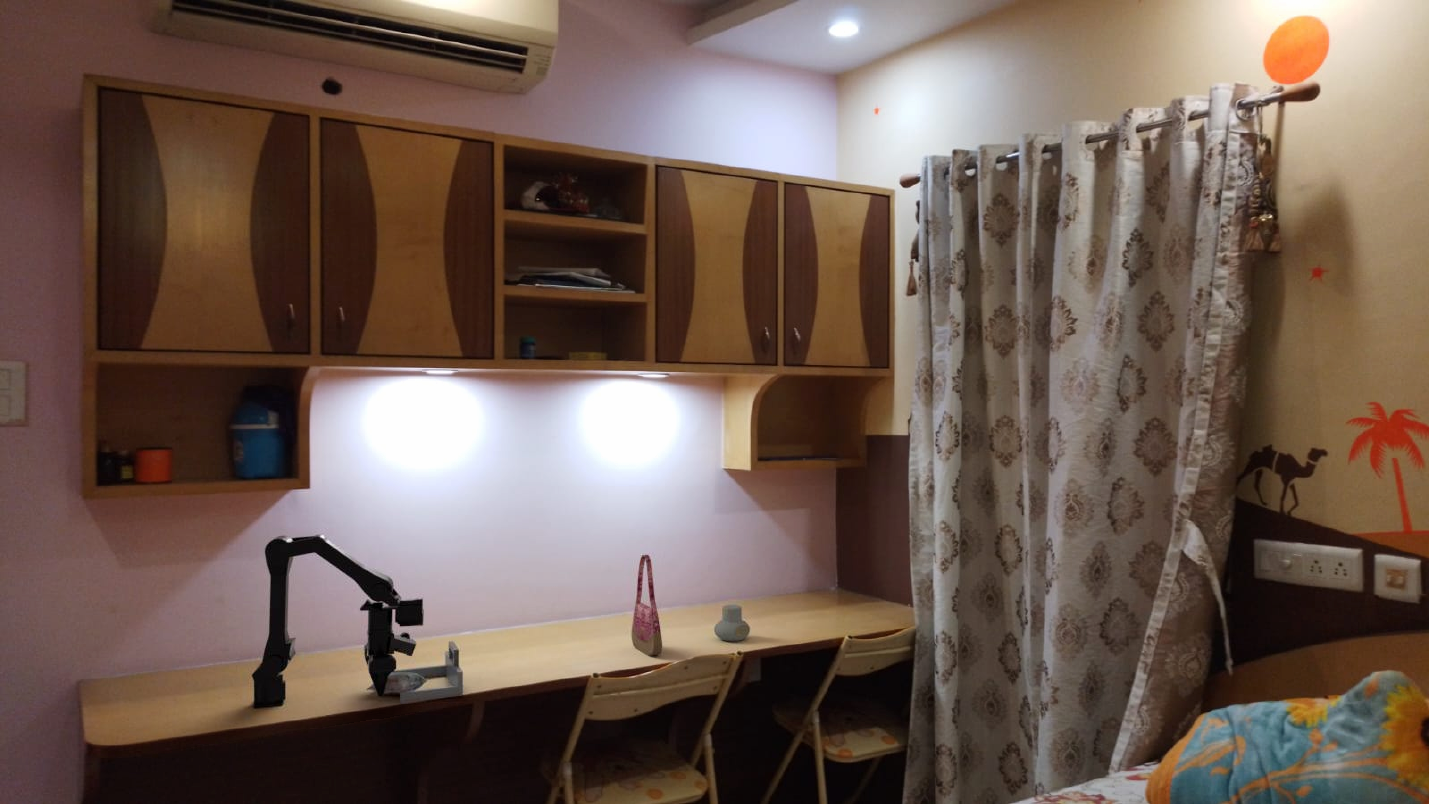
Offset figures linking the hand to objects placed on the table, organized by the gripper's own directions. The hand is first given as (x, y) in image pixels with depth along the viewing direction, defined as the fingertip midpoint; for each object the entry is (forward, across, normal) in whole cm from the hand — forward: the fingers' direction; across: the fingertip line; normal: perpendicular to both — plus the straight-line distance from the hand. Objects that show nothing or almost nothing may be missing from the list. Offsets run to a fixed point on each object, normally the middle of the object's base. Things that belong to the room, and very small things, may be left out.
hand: (379, 690), depth 235 cm
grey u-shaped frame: (+1, +2, -11) cm, 11 cm away
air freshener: (0, +16, -103) cm, 104 cm away
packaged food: (+3, -1, -1) cm, 3 cm away
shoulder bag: (0, +13, -74) cm, 76 cm away
